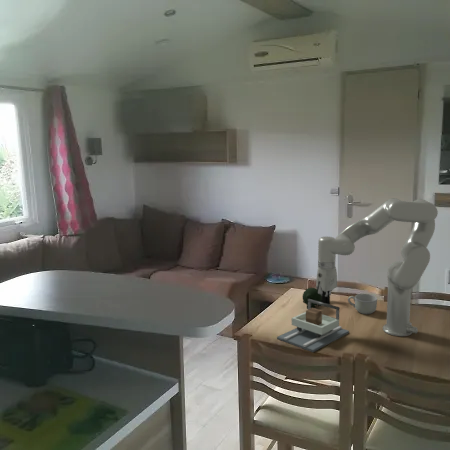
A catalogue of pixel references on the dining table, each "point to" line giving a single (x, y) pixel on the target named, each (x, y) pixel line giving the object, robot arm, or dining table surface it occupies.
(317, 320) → the walnut block
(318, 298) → the toy figurine
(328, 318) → the shallow sage tray
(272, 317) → the dining table surface
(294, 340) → the track
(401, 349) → the dining table surface
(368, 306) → the teacup
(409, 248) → the robot arm
